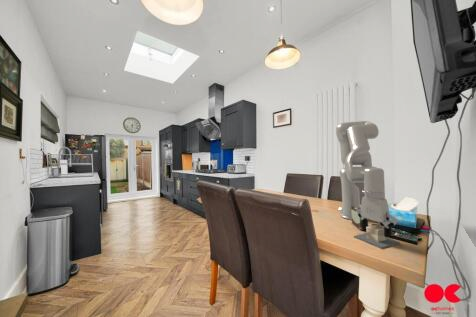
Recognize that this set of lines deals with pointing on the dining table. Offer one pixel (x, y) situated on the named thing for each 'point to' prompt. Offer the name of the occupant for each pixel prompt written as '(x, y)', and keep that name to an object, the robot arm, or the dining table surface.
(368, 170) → the robot arm
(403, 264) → the dining table surface
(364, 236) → the charcoal mat
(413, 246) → the dining table surface
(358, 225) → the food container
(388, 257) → the dining table surface
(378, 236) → the birch cube
